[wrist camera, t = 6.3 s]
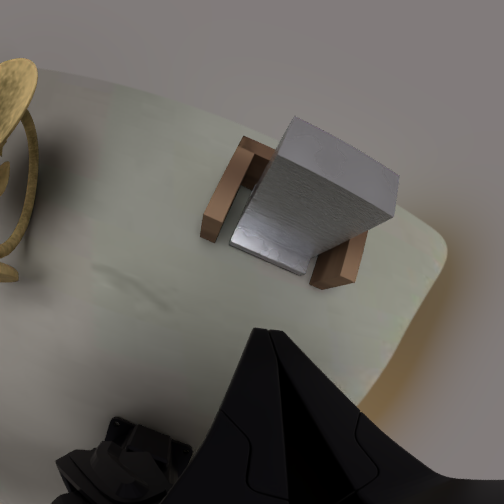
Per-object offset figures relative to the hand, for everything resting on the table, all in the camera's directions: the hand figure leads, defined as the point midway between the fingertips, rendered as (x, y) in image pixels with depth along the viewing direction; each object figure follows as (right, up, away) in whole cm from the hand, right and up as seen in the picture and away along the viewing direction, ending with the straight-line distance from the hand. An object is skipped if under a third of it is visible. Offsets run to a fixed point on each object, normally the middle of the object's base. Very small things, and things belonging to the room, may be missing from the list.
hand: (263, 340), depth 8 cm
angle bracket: (+2, +4, +15) cm, 16 cm away
